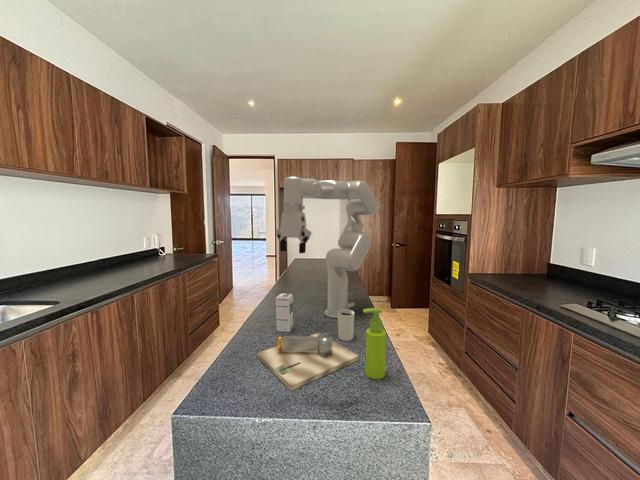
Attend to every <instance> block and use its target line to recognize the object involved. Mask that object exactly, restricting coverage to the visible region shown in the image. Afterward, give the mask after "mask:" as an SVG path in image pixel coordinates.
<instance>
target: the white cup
mask: <svg viewBox="0 0 640 480" xmlns="http://www.w3.org/2000/svg"><path fill="white" fill-rule="evenodd" d="M354 327H355V311H354V310H352V309H349V310H347V309H344V310H339V311H338V318H337V328H338V329H337V332H338V333H337V335H338V339H339V340H341V341H347V342H348V341H352V340H353V339H354Z"/></svg>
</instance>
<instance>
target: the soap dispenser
mask: <svg viewBox="0 0 640 480" xmlns="http://www.w3.org/2000/svg"><path fill="white" fill-rule="evenodd" d="M362 312H363V313H364V314H368V313H372V314H373V315H372V318H371V319H370V322H369V324H370V325H369V328H366V329H365V361H364V364H365V368H364V371H365V372H364V373H365V375H366V376H367V377H368V378H369V379H370V378H371V379H374V380H381V379H383V378H384V377H386V358H387V355H386V354H387V352H386V347H387V332H386V330H385V329H383V320H382V319H381V318H380V313H383V310H382V309H381V308H379V307H370V308H365V309H364V308H363V309H362Z"/></svg>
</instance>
